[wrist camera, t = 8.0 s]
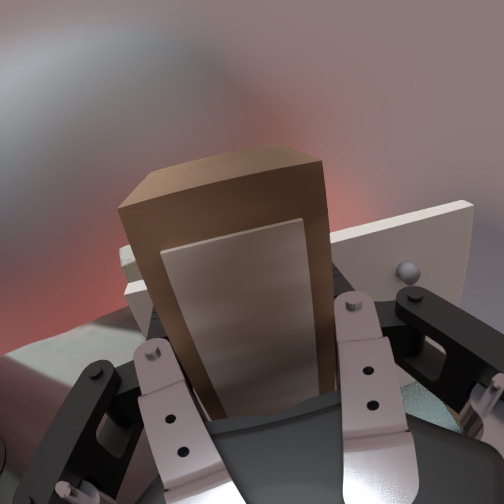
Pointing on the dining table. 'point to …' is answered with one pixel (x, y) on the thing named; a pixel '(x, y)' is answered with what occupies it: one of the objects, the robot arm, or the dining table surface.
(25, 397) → the dining table surface
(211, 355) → the frame block
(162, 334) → the robot arm
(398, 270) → the white upright flat panel
